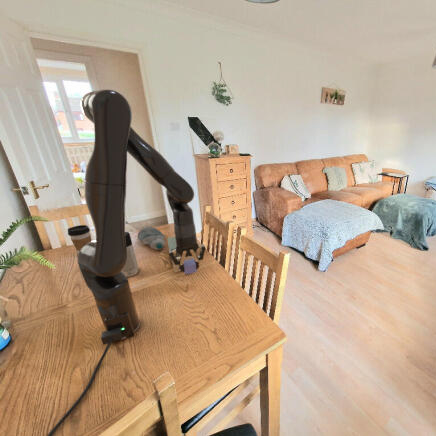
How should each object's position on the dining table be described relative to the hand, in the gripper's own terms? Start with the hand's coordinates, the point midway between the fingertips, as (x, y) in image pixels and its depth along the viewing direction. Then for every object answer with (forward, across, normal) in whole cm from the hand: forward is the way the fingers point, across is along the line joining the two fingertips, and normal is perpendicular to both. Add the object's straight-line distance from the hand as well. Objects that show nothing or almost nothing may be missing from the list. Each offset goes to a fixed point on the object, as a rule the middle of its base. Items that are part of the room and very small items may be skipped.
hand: (190, 269), depth 99 cm
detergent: (+9, -14, +49) cm, 52 cm away
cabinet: (+9, -1, +29) cm, 31 cm away
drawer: (+8, -1, +18) cm, 20 cm away
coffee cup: (+10, -45, +52) cm, 70 cm away
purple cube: (0, 0, 0) cm, 0 cm away
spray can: (+10, -24, +23) cm, 35 cm away
